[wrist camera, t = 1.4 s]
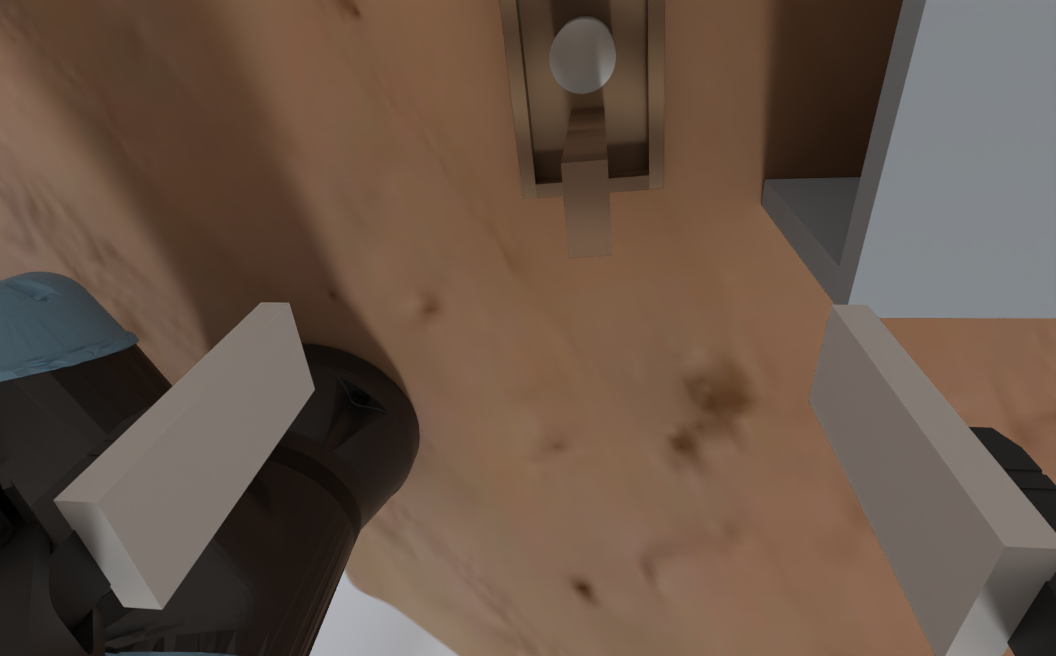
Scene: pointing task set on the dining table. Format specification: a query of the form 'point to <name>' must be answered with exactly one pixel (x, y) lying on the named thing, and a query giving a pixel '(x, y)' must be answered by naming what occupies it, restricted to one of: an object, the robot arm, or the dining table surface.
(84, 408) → the robot arm
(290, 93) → the dining table surface
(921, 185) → the grey step stool
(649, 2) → the tray
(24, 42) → the dining table surface
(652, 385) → the dining table surface
